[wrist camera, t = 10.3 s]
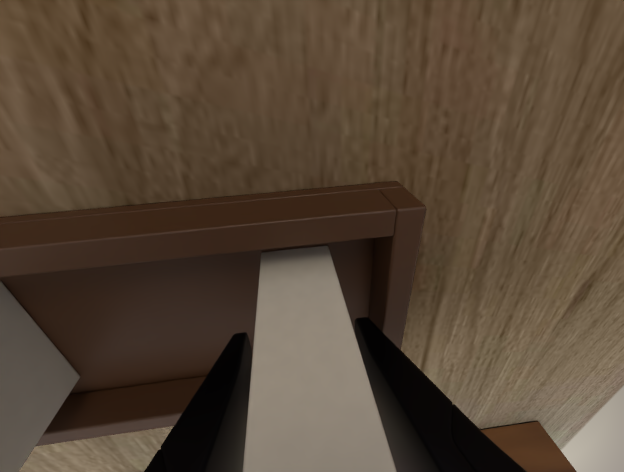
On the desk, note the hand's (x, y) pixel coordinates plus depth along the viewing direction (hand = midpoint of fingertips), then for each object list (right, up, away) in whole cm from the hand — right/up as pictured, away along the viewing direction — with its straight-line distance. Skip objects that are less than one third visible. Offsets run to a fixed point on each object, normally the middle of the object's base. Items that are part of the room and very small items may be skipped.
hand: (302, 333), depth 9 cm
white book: (0, +1, +1) cm, 1 cm away
